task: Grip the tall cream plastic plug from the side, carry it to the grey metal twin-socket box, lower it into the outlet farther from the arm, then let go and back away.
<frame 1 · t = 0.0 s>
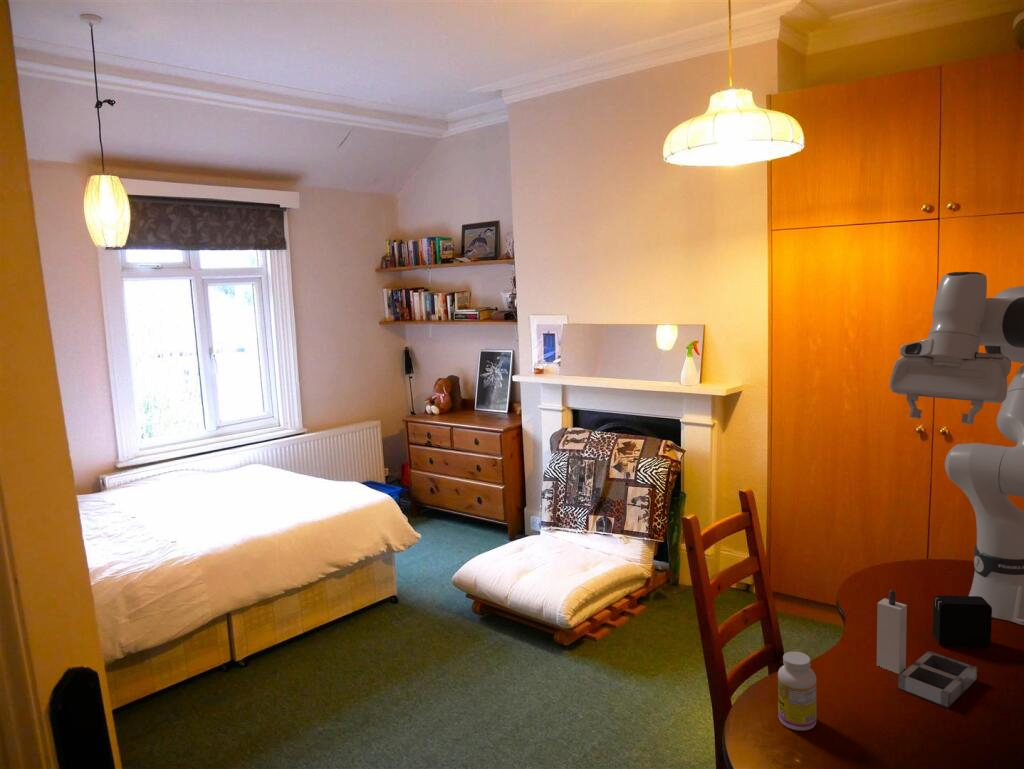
hand: (940, 420, 143), 52 cm above the table, tool tilted 20°, fingers open, 8 cm apart
electronic device: (960, 643, 160), on the table
supplement bottle: (797, 722, 137), on the table
plug: (891, 667, 152), on the table
socket box: (937, 684, 145), on the table
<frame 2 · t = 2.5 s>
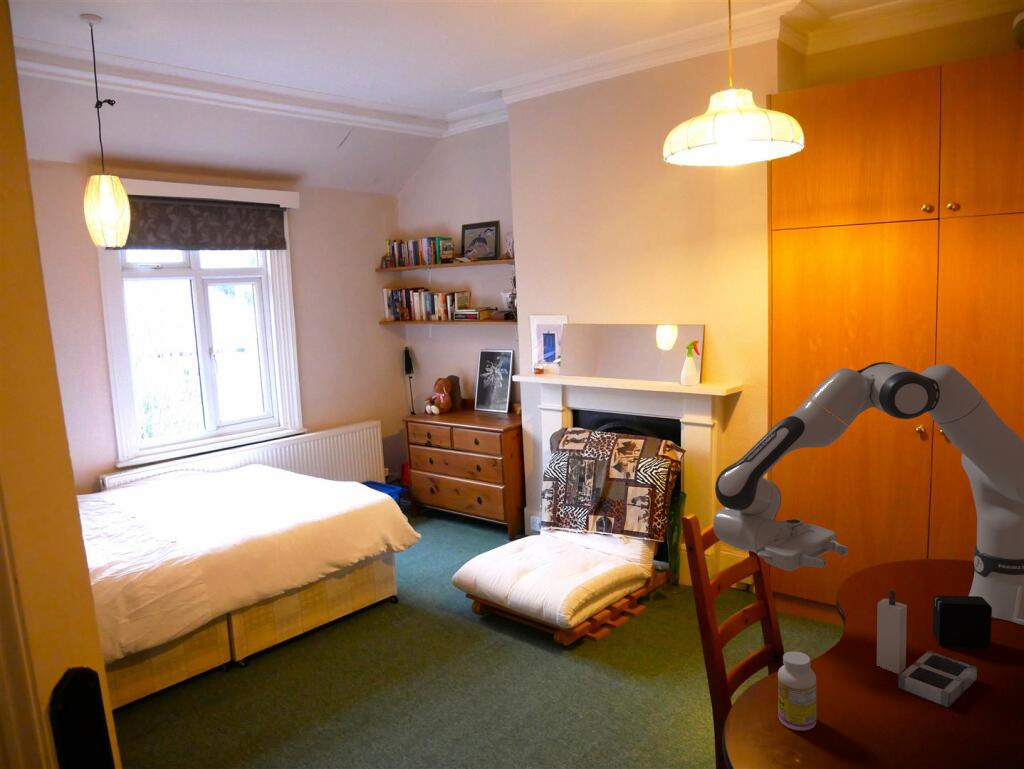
hand: (835, 557, 158), 21 cm above the table, tool horizontal, fingers open, 8 cm apart
nothing on the table moved.
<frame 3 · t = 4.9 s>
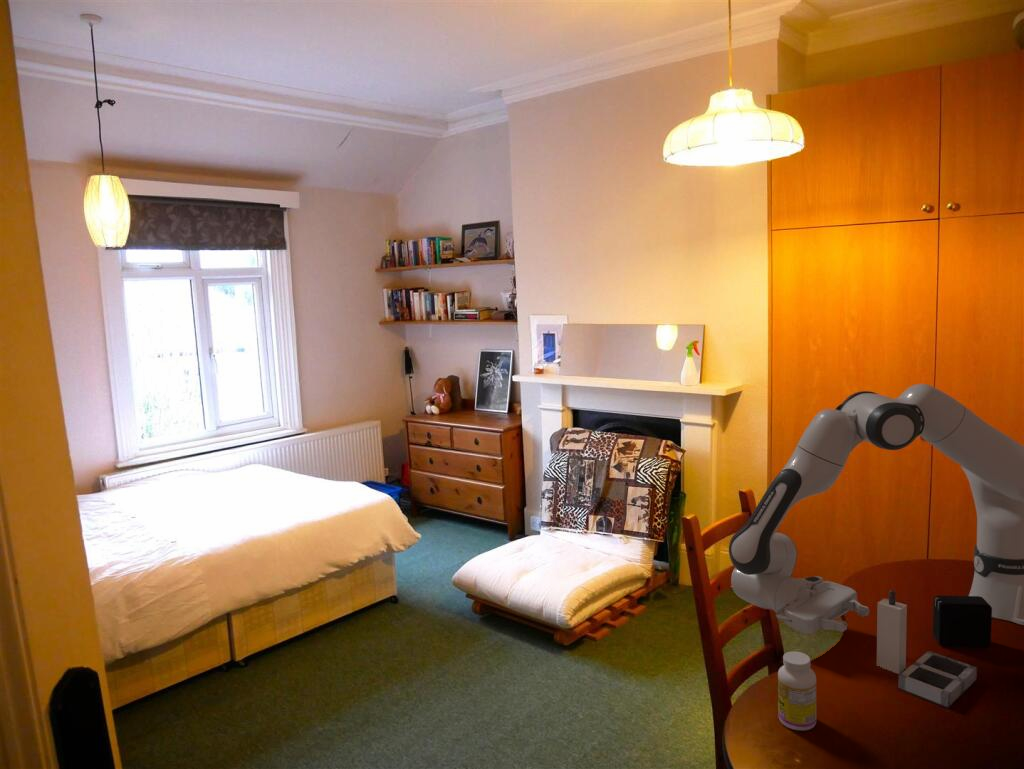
hand: (856, 619, 157), 8 cm above the table, tool horizontal, fingers open, 8 cm apart
nothing on the table moved.
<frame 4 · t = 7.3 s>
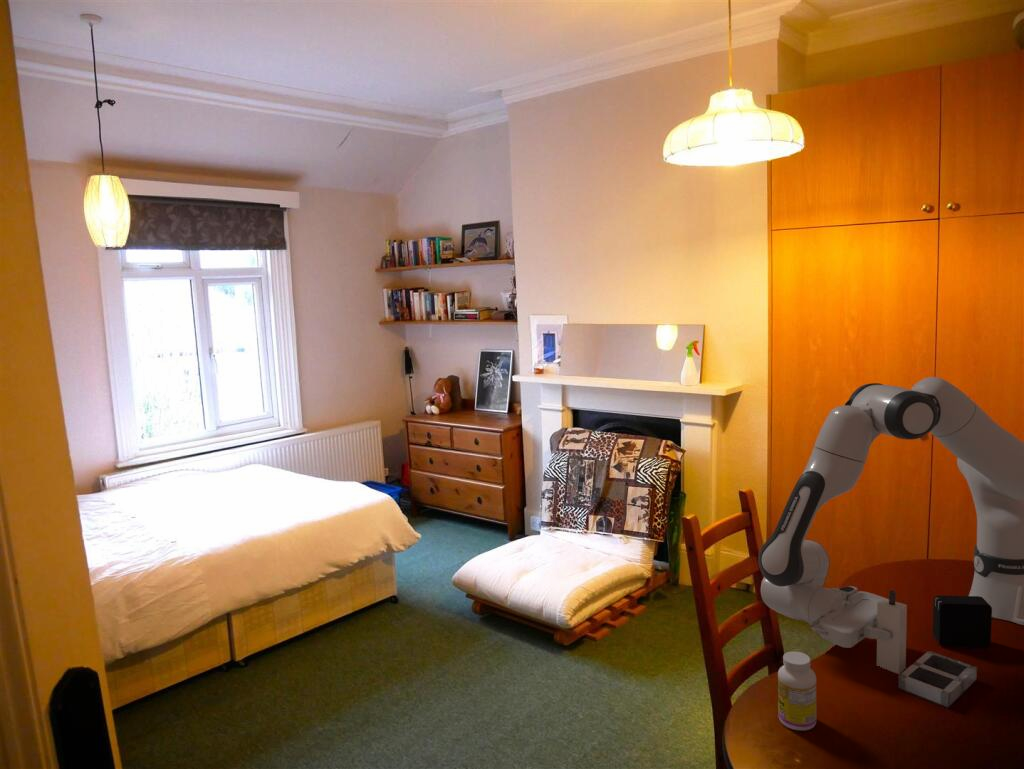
hand: (896, 632, 150), 8 cm above the table, tool horizontal, fingers closed on plug, 3 cm apart
plug: (891, 667, 152), on the table, touching gripper
everything else where it was.
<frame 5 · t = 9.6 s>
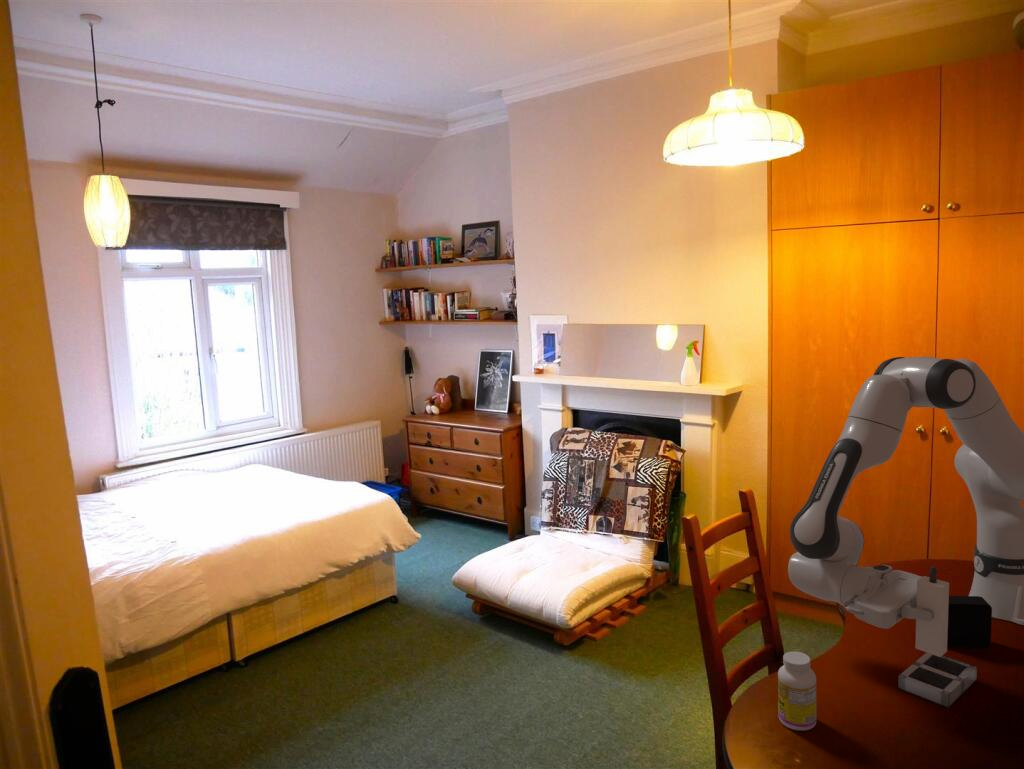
hand: (937, 612, 140), 17 cm above the table, tool horizontal, fingers closed on plug, 3 cm apart
plug: (931, 649, 142), point 9 cm above the table, touching gripper
everything else where it was.
when the fingers open (9 cm above the table, at t = 12.1 s): plug drops 1 cm, resting on socket box.
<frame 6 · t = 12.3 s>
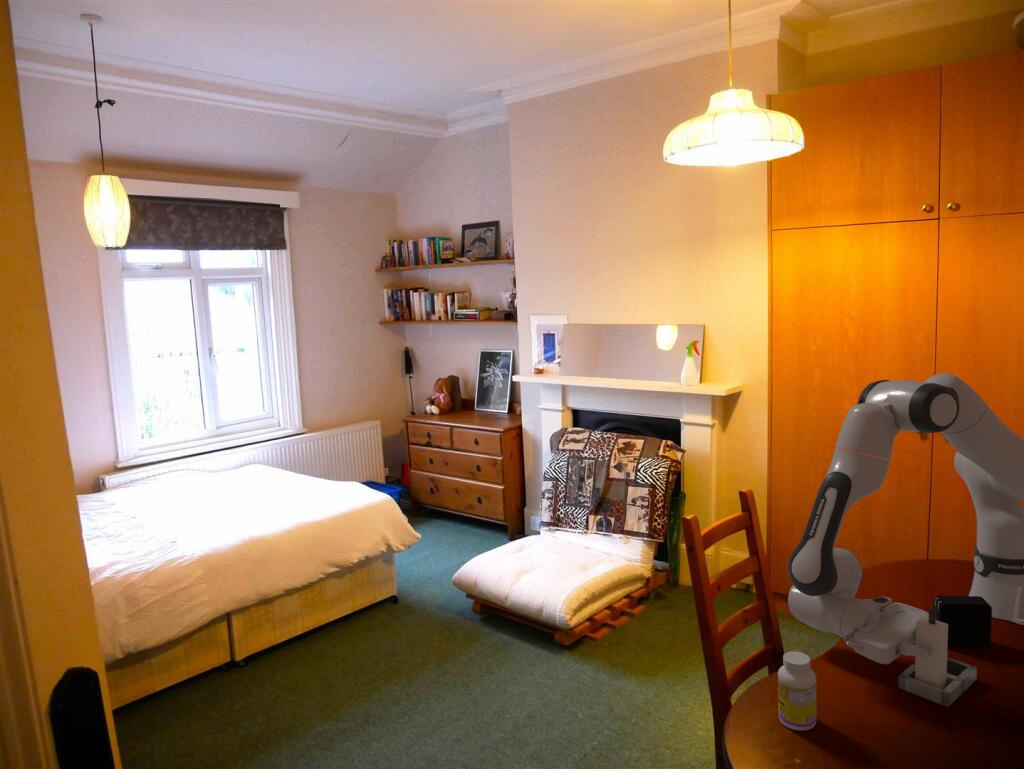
hand: (936, 647, 141), 9 cm above the table, tool horizontal, fingers open, 5 cm apart
plug: (930, 689, 143), resting on socket box
everything else where it was.
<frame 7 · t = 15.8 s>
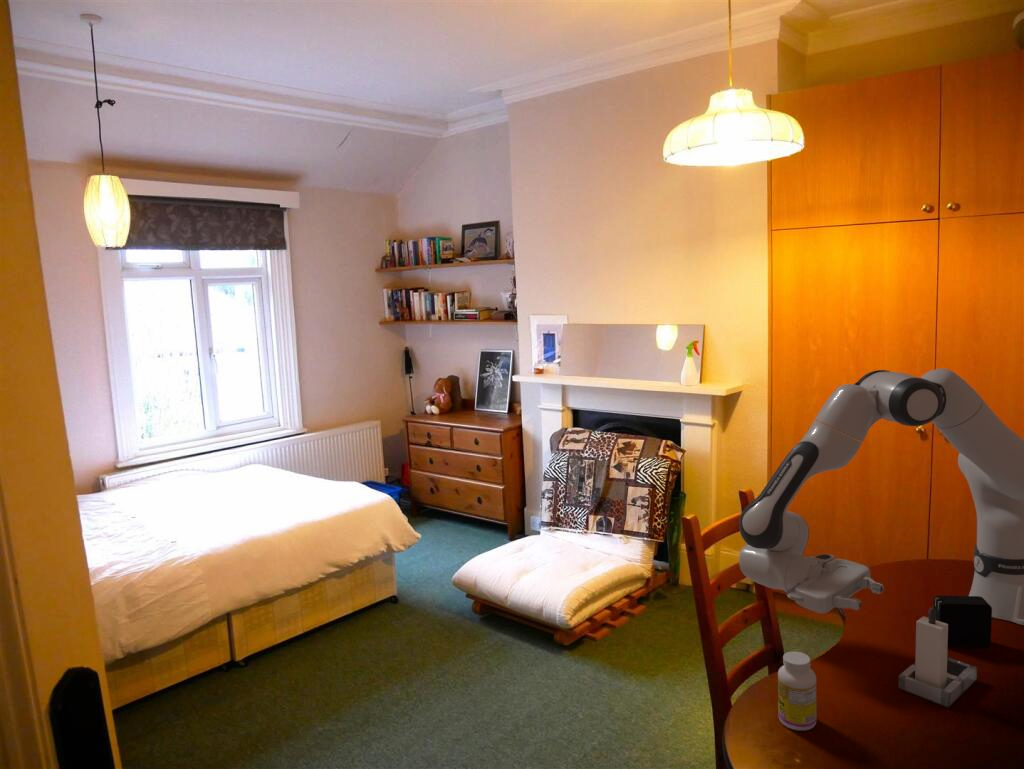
hand: (871, 597, 150), 15 cm above the table, tool horizontal, fingers open, 8 cm apart
nothing on the table moved.
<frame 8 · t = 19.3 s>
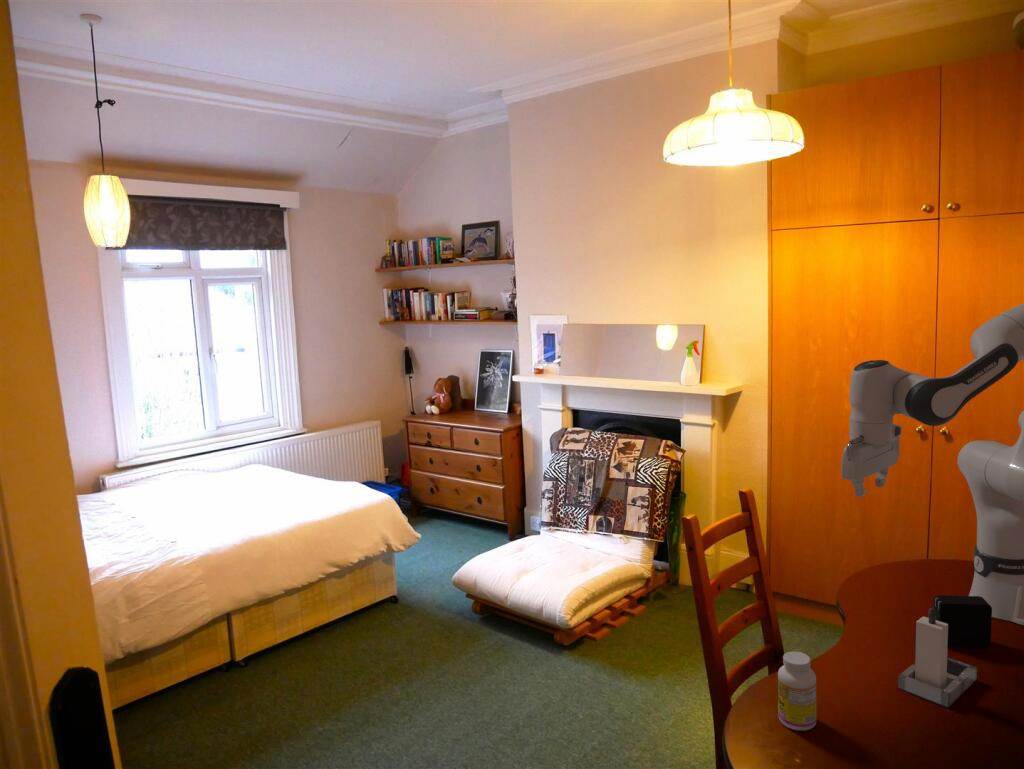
hand: (870, 491, 168), 31 cm above the table, tool pointing down, fingers open, 8 cm apart
nothing on the table moved.
at the end: plug 0.0 cm from the target spot on the socket box, point 0.3 cm above the socket box's base; plug tilted 0°; the gripper is holding nothing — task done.
